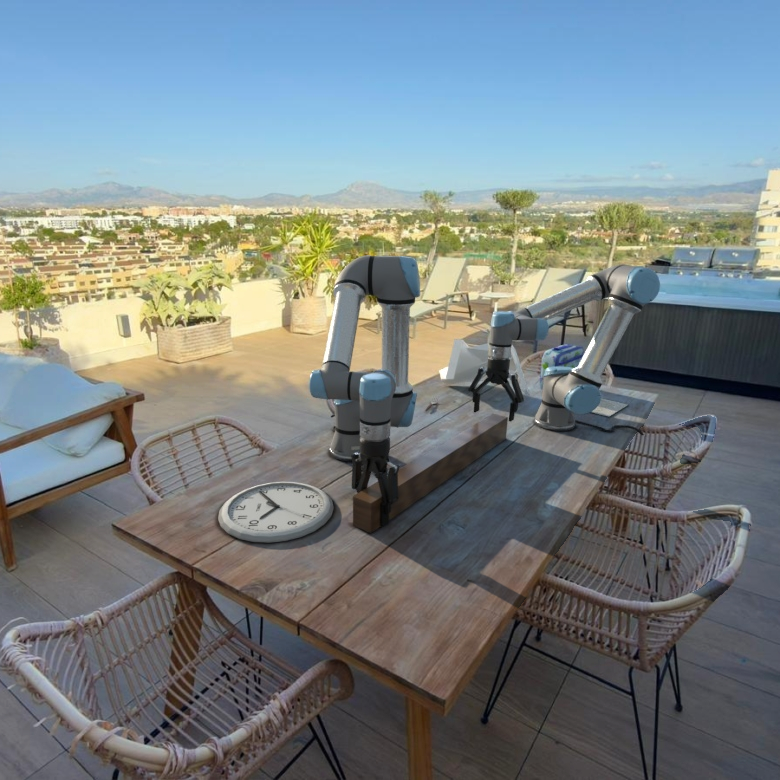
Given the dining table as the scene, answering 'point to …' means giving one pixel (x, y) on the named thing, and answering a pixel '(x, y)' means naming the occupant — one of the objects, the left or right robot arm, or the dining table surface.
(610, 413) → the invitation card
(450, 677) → the dining table surface
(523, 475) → the dining table surface
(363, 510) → the bar
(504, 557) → the dining table surface
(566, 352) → the lunch box
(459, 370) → the white plastic object
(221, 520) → the wall clock
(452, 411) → the dining table surface
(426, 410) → the fork
